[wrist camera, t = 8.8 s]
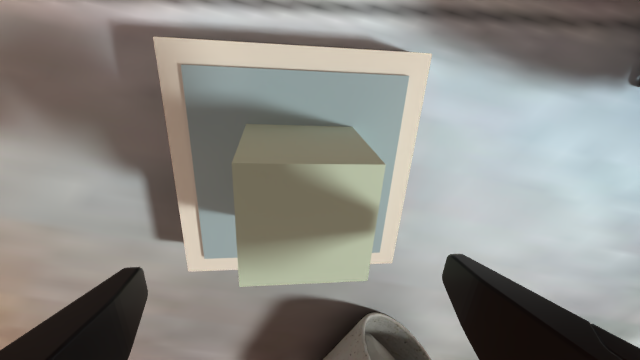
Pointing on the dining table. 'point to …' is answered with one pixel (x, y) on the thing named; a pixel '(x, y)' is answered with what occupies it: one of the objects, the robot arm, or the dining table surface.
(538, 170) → the dining table surface
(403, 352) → the ceramic mug
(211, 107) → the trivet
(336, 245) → the cube
